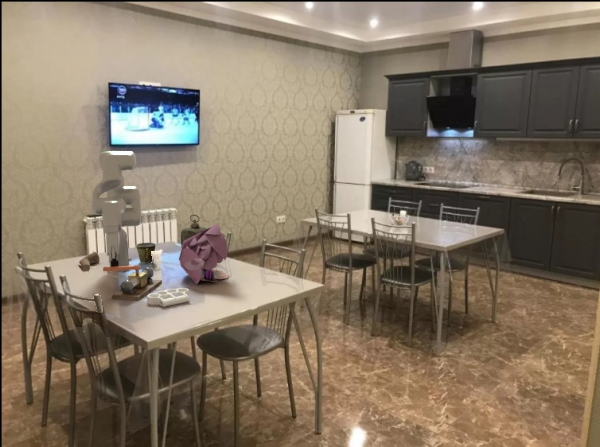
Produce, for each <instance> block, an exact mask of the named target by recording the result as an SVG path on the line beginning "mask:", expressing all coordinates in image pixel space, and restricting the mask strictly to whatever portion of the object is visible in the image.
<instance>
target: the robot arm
mask: <svg viewBox="0 0 600 447" xmlns="http://www.w3.org/2000/svg"><path fill="white" fill-rule="evenodd" d="M136 156H137V155H136V154H135V152H134V151H129V150H128V151H126V150H125V151H123V150H121V151H120V150H118V151H117V150H112V151H111V150H107V151H102V152H100V153H99V155H98V162H99V166H100V168H101V170H102V179H101V180H100V181H99V182H98V183H97V184H96V185H95V186H94V188H93V190H92V193H91V210H92V212H93V214H95V215H98V216H102V228H103V230H102V232H103V234H106V235H105V240H106V243H105V244H106V245H105V247H106V256H108V263H109V265H108V266H106V267H114V266H133V264H130V262H131V261H132V257H131V256H130V257H129V238H128V234H127V231H126V230H125V229H124V227H139V226H140V225H141V223H142V206H141V205H142V204H141V193H140V189H139V188H138V187H136V186H131V185H130V186H125V177H124V175H123V172H126V171H127V172H133V171H134V170H136V165H137V157H136ZM104 193H106V197H101V196H102V194H104ZM127 206H131V207H127ZM126 271H128V270H120V271H109V272H113V273H120V272H126Z"/></svg>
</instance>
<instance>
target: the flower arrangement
mask: <svg viewBox="0 0 600 447" xmlns="http://www.w3.org/2000/svg"><path fill="white" fill-rule="evenodd" d="M220 226H221V225H220V224H219V223H214V224H213V225H212V226H210V227H208V228H207V229H206V230H204V231H203V232H201V233H199V234H197V235H195V236H193V237H191V238H189V239H187V240H185V241H184V242H183V245H182V247H181V250H180V253H179V257H178V261H179V264H180V267H181V268H182V269H183V270H184V272H185V273H186V274H187V276H189V277H190V279H191V280H192V281H193V283H195V285H198V284H199V282H200V281H205V282H214V283H217V281H219V280H222V279H223V280H224V279H229V277H230V274H227V273H226V272H223V271H222V270H219V269H215V268H216V266H217V265H218V264H221V263H222V262H223V260H224V261H226V259H227V257H228V244H227V240H226V238H225V235H224V234H222V232H221V228H220Z"/></svg>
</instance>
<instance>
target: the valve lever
mask: <svg viewBox="0 0 600 447" xmlns="http://www.w3.org/2000/svg"><path fill="white" fill-rule="evenodd" d="M140 269H141V264H135V265H134V264H133V265H132V266H114V267H107V266H103V267H102V272H110V271H120V270H127V271H135V270H139V271H140Z"/></svg>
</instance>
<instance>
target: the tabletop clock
mask: <svg viewBox="0 0 600 447" xmlns="http://www.w3.org/2000/svg"><path fill="white" fill-rule="evenodd" d="M192 217H197V218H198V220H196V219H192ZM189 220H190V221H191V223H190V226H189V227H185V228H182V230H181V231H180V232H181V233H180V246H181V248H182V245H183V242H184V241H185V240H187V239H189V238H191V237H193V236H195V235H197V234H199V233H201V232H203V231H204V230H206V229H208V228H207V227H205V226H200V224H199V221H200V217H199V216H198V215H197V214H191V215H190V216H189Z"/></svg>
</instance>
